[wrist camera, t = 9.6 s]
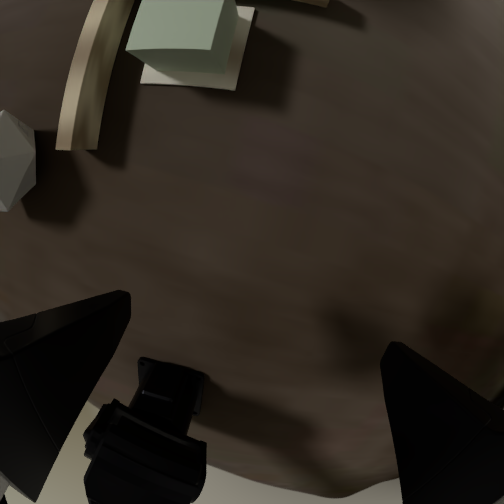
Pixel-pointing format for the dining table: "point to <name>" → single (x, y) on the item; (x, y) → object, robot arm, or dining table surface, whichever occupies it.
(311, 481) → the dining table surface
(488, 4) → the dining table surface
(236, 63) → the wooden corner guide
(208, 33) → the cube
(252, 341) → the dining table surface
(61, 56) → the dining table surface
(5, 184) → the die
